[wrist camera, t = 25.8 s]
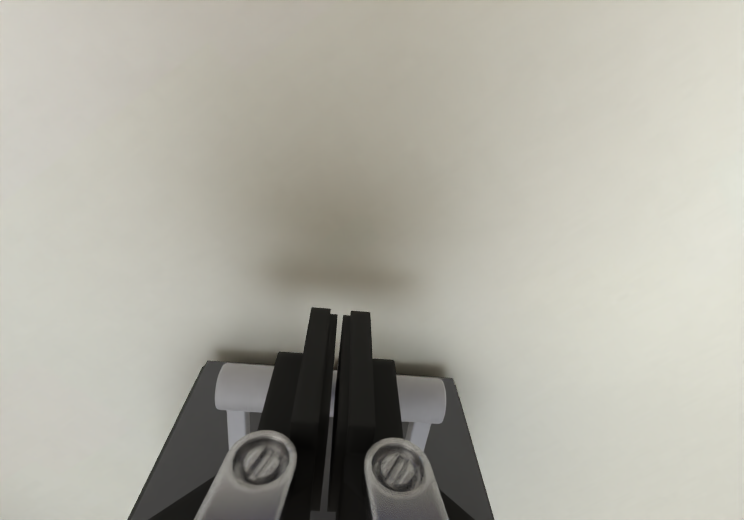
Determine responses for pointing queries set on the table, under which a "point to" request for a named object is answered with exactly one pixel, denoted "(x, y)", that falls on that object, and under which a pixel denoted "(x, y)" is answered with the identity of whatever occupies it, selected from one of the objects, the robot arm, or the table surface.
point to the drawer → (242, 416)
